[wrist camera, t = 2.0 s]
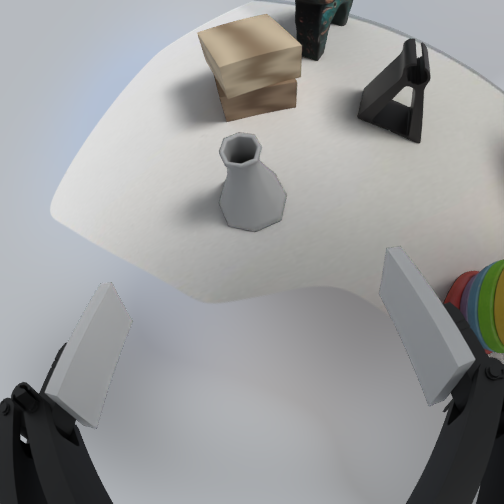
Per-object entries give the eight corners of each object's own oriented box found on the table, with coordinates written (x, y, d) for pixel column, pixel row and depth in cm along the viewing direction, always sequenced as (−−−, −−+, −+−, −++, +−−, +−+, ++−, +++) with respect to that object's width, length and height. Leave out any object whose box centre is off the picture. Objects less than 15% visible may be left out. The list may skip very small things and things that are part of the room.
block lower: (276, 68, 34) (275, 43, 29) (295, 108, 32) (297, 81, 27) (216, 81, 34) (209, 57, 29) (227, 123, 32) (219, 97, 27)
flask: (282, 166, 30) (281, 108, 20) (291, 228, 28) (296, 185, 18) (218, 174, 30) (193, 121, 20) (221, 236, 29) (192, 199, 19)
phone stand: (356, 117, 30) (378, 48, 19) (363, 90, 31) (382, 25, 19) (419, 144, 29) (458, 85, 17) (420, 114, 30) (452, 57, 18)
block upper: (269, 41, 29) (266, 13, 24) (300, 77, 27) (302, 45, 22) (205, 60, 29) (197, 32, 24) (227, 99, 27) (219, 67, 22)
